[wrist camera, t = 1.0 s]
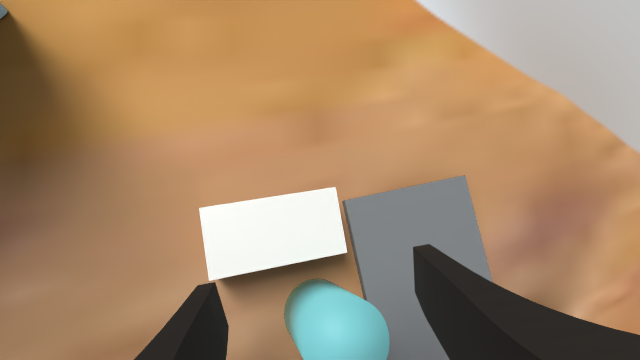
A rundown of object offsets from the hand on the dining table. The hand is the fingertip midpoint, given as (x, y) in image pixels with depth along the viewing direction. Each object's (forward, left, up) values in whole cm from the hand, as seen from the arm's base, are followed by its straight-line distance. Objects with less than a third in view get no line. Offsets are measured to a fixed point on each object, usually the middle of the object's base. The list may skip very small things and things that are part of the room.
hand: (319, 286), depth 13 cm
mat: (-4, -10, -12) cm, 16 cm away
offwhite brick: (+2, 0, -12) cm, 12 cm away
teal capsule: (-4, -2, -12) cm, 12 cm away
